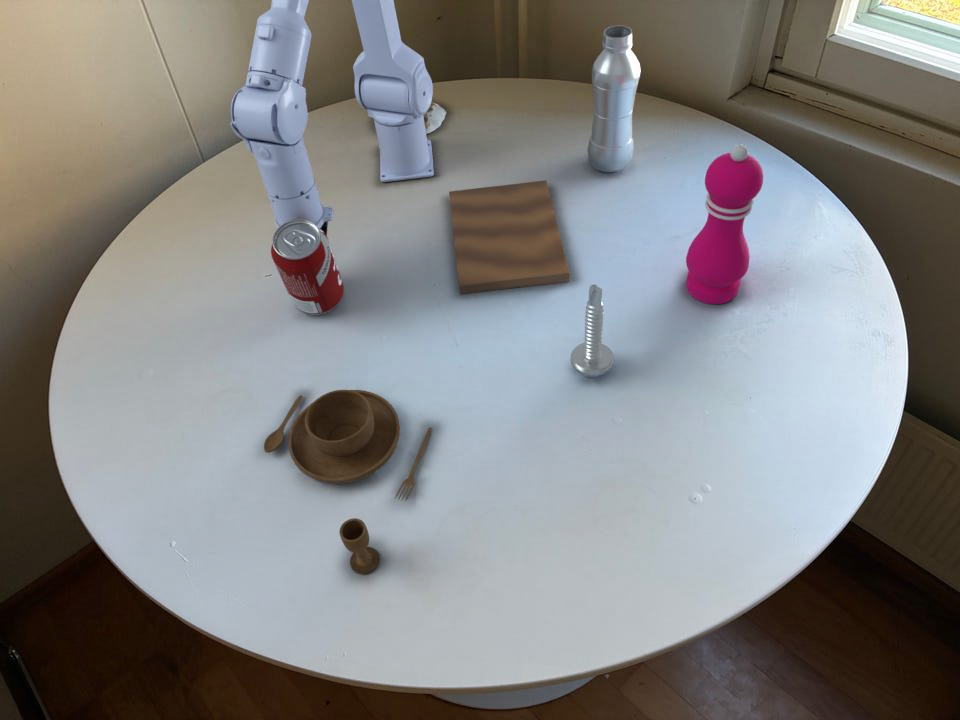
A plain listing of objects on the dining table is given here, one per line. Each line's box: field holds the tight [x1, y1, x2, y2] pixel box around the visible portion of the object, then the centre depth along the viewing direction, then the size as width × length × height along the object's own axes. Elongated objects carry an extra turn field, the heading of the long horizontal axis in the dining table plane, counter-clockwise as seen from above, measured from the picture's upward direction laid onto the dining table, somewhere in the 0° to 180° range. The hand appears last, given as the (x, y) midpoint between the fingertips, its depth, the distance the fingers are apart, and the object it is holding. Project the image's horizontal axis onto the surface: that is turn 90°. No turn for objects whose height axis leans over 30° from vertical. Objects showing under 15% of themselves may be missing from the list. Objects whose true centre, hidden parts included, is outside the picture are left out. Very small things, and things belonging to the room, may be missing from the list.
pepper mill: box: [685, 143, 764, 305], centre depth 87 cm, size 7×7×20 cm
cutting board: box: [448, 179, 571, 295], centre depth 103 cm, size 20×14×2 cm
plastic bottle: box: [587, 25, 642, 173], centre depth 106 cm, size 6×7×20 cm
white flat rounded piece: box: [423, 98, 448, 135], centre depth 124 cm, size 12×12×4 cm
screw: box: [569, 284, 615, 379], centre depth 82 cm, size 13×5×5 cm
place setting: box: [263, 389, 433, 575], centre depth 78 cm, size 18×20×6 cm
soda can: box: [270, 219, 345, 316], centre depth 92 cm, size 7×7×12 cm
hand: (317, 272), depth 99 cm, fingers closed, pressing on soda can
